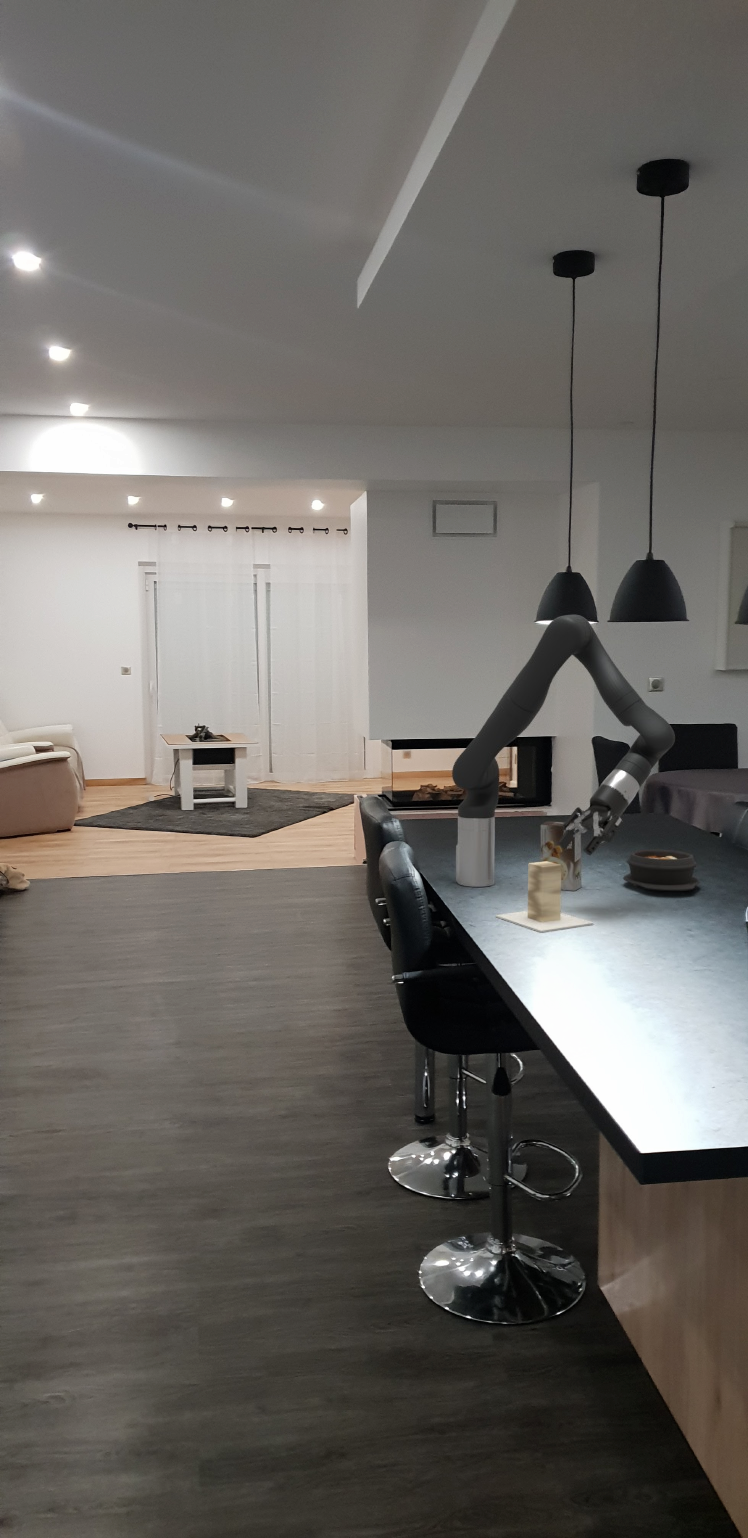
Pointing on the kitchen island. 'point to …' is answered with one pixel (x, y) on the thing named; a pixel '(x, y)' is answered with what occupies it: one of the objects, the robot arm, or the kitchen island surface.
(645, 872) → the casserole
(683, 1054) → the kitchen island surface
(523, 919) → the felt mat
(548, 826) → the coffee box
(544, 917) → the birch block
